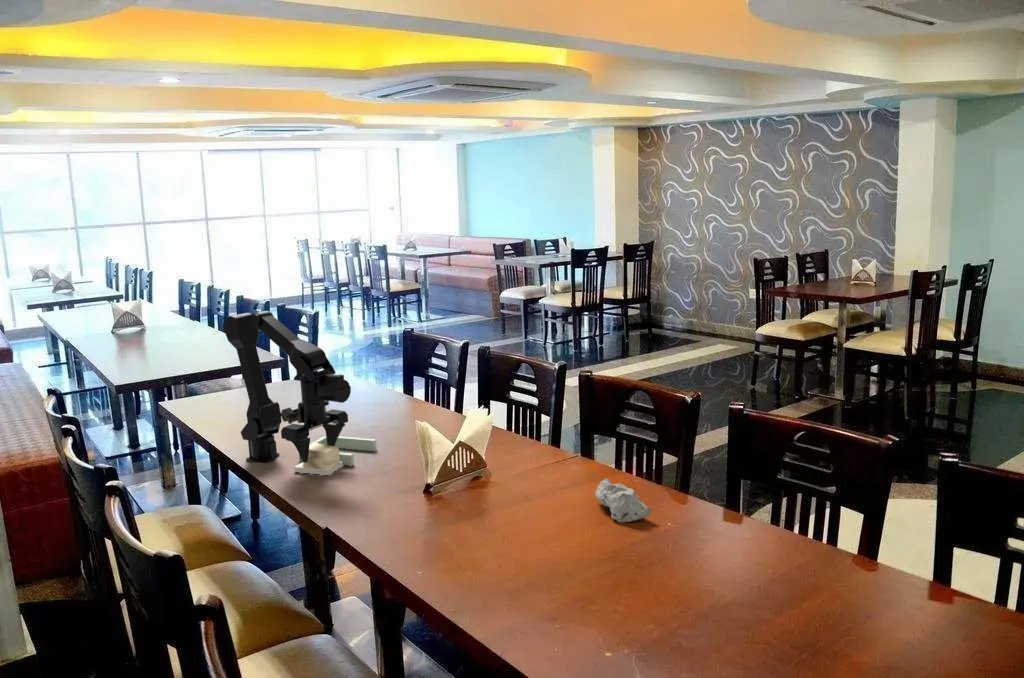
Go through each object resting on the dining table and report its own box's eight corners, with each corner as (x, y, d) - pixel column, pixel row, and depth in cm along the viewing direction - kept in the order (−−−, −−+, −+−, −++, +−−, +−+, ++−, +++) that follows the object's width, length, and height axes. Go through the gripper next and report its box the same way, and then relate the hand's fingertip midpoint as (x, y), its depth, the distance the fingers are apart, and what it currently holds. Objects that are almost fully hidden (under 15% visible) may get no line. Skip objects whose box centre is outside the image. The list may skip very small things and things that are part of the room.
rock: (582, 503, 183) (582, 475, 182) (609, 497, 186) (609, 469, 185) (623, 529, 170) (623, 498, 168) (651, 521, 173) (651, 491, 172)
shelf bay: (299, 461, 217) (298, 450, 216) (326, 445, 229) (325, 435, 229) (351, 466, 212) (351, 455, 211) (376, 449, 224) (375, 439, 224)
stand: (294, 472, 208) (294, 467, 208) (309, 463, 215) (309, 458, 215) (328, 476, 205) (328, 470, 205) (343, 466, 212) (342, 461, 211)
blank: (303, 465, 209) (301, 448, 208) (316, 459, 213) (315, 442, 213) (326, 470, 205) (325, 453, 204) (339, 463, 209) (338, 447, 209)
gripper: (315, 386, 218) (320, 441, 221) (262, 403, 203) (268, 463, 206) (347, 390, 213) (351, 447, 216) (295, 408, 197) (300, 470, 200)
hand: (318, 456), depth 209 cm, fingers open, 9 cm apart
